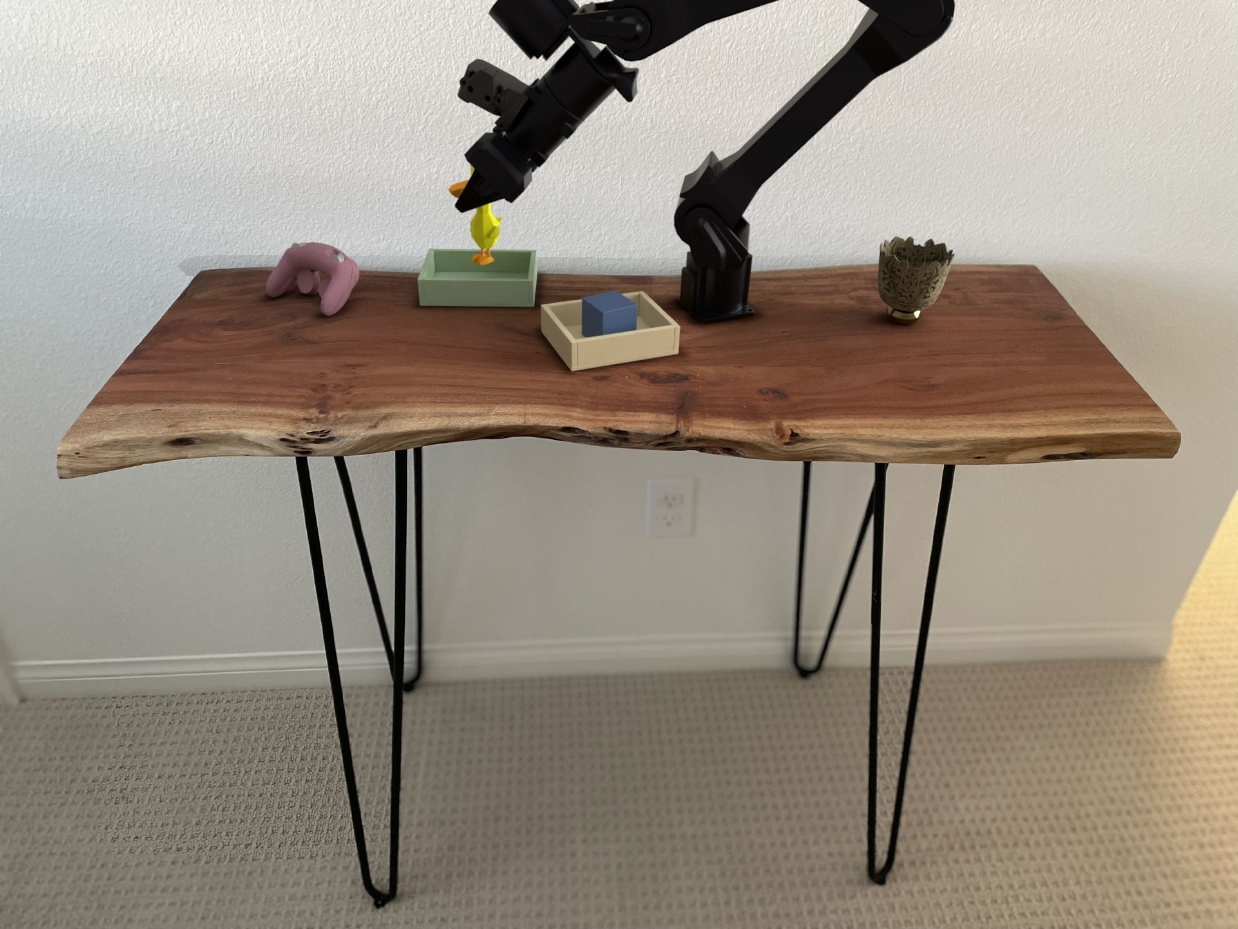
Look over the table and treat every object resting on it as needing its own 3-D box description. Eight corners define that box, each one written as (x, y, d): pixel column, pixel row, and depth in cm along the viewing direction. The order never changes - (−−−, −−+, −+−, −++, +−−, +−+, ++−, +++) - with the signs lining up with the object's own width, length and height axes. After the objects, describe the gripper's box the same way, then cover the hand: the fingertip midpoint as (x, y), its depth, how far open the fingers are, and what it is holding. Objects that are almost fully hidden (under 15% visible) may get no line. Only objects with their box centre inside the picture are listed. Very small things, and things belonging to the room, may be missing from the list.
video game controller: (356, 321, 100) (370, 256, 98) (324, 316, 96) (339, 249, 94) (292, 299, 104) (305, 237, 103) (259, 294, 100) (272, 229, 99)
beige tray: (641, 317, 99) (642, 290, 97) (678, 354, 92) (680, 326, 90) (541, 331, 95) (540, 304, 94) (571, 371, 88) (571, 342, 87)
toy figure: (467, 273, 99) (458, 157, 93) (446, 265, 101) (436, 151, 95) (515, 258, 103) (509, 146, 97) (494, 251, 105) (487, 141, 99)
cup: (861, 326, 98) (874, 253, 94) (872, 300, 104) (885, 231, 100) (933, 339, 96) (951, 265, 92) (941, 312, 102) (958, 242, 98)
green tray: (537, 274, 108) (536, 249, 106) (533, 307, 100) (533, 280, 99) (431, 273, 107) (428, 248, 106) (419, 305, 100) (417, 279, 98)
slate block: (615, 326, 96) (616, 290, 93) (636, 341, 93) (637, 304, 91) (581, 334, 94) (581, 297, 92) (602, 350, 91) (602, 312, 89)
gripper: (527, 17, 97) (434, 122, 104) (479, 48, 81) (374, 169, 88) (601, 100, 100) (506, 196, 107) (570, 145, 85) (461, 254, 92)
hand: (464, 201), depth 99 cm, fingers closed on toy figure, 4 cm apart
